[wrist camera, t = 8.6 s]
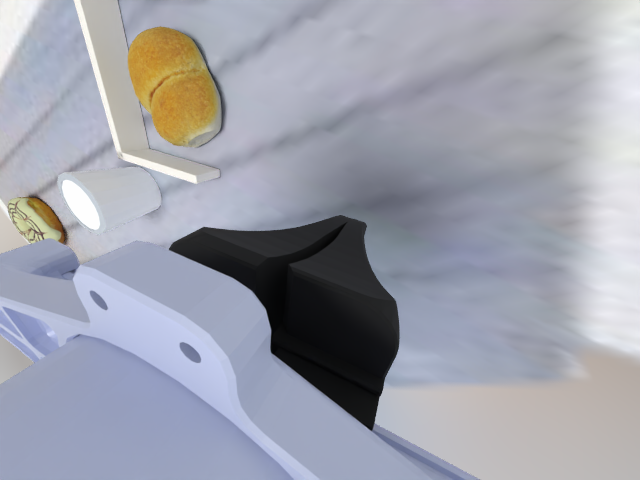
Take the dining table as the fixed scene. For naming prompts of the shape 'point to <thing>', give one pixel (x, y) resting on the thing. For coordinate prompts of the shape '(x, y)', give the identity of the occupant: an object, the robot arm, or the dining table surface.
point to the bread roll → (175, 86)
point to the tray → (126, 93)
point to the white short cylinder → (108, 196)
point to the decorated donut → (35, 220)
